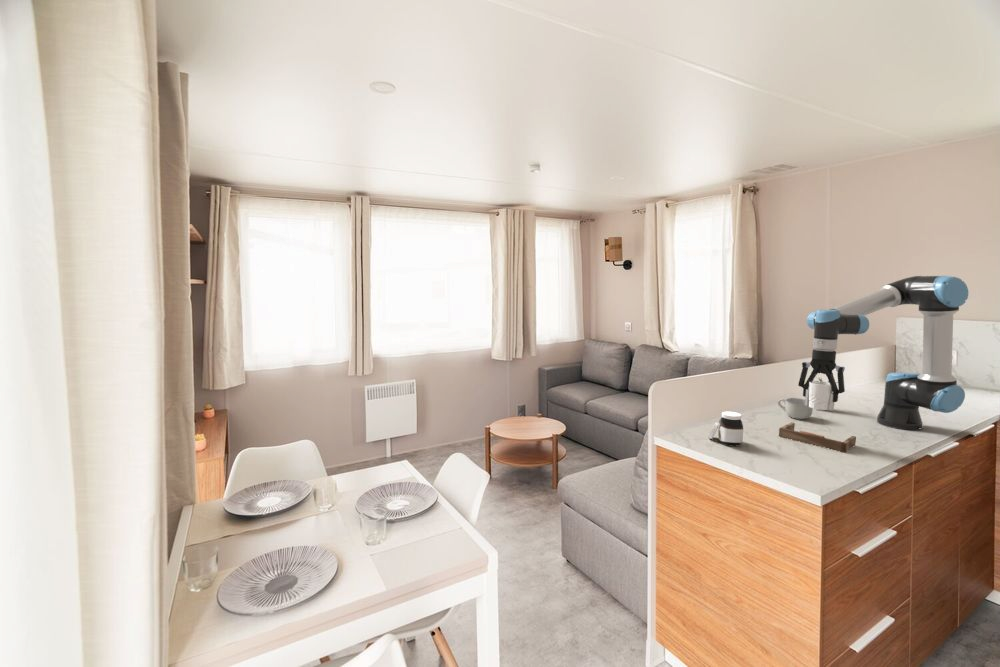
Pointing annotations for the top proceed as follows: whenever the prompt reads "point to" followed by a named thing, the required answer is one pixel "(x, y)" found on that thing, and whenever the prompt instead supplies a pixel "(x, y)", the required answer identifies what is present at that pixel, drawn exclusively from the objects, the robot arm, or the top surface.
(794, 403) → the teacup
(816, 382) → the white cup
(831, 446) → the brown wooden open frame
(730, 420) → the spread jar
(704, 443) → the top surface
